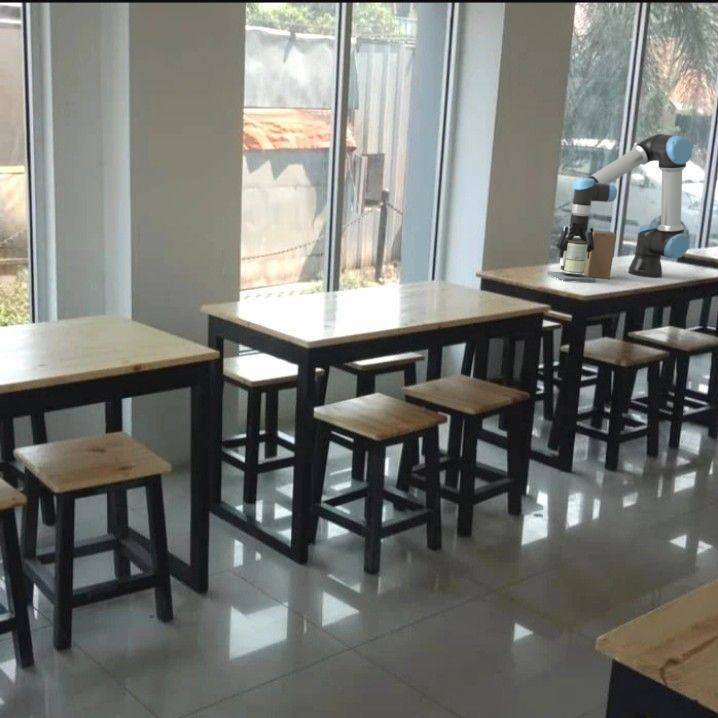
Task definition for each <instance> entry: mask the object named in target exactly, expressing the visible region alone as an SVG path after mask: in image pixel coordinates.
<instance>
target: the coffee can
mask: <svg viewBox="0 0 718 718" xmlns="http://www.w3.org/2000/svg"><path fill="white" fill-rule="evenodd" d="M566 238H567V237H566ZM566 238H565V240H564V241H567V242H568V243H567V247H566V249H565V251H566V257H565V264H564V266H562V265H560V269H559V272H565V273H570V274H583V275H585V274H584V267H585V260H586V254H587V247H588V242H589V241H588V240H587V241H583V240H582V239H581V238H577V237H576V238H575V237H574V238H572V240H571V241H570V240H566Z"/></svg>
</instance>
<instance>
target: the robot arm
mask: <svg viewBox="0 0 718 718" xmlns="http://www.w3.org/2000/svg"><path fill="white" fill-rule="evenodd" d="M692 146H693V145H691V142H690V141H689V139H687V138H686V137H683V136H680V135H673V134H665V133H663V134H662V133H659V134H655V135H651V136H649V137H647V138H645V139H643V140H641V141H640V142H637V144H635V145H634V146H632V148H631V149H630V151H628V152H627V153H625V154H623V155H622V156H619V157H618V158H617V159H615V160H613V161H612V162H610V163H608V165H607V164H606V165H605V166H603V167H602V168H601V169H599V170H597V171H596V172H595V173H592V174H591V175H590V176H588V177H578V178H576V180H575V181H573V184H572V188H571V190H572V193H573V199H572V200H573V201H572V207H571V213H572V214H570V221H569V226H566V225H563V226H562V231H561V234H560V236H559V238H558V241H557V244H556V246H555V248H556V249H558V250H559V253H558V257H559V259H560V260H559V266H561V265H562V266H564V264H565V257H566V251H565V249H566V247H567V243H568V242H567V241H564V240H565V238H566V240H570V241H571V240H572V238H575V237H580V239H582V240H583V241H589V242H588V243H589V244H588V247H587V254H586V260H585V267H586V263H587V259H588V258H589V253H590V252H591V251H592V250H594V241H593V230H594V228H593V227H591V226H590V227H588V224H589V219H590V218H589V215H590V212H591V204H592V202H603V203H612V202H614V201H615V200H616V198H617V196H618V189H617V187H616V186H615V185H614V184H612V183H613V182H614V181H617V180H618V179H620V178H621V177H623V176H624V175H625V174H627V173H629V172H630V171H633V170H634V169H636V168H637V167H639V166H641V165H646V164H648V163H649V162H654V161H658V169H659V170H661V195H660V196H661V202H660V206H661V207H660V210H661V211H660V225H654V224H653V225H652V224H651V225H648V224H643V225H642V224H641V225H640V226H639V229H638V232H637V239H636V244H635V245H636V246H635V253H634V257H633V259H632V261H631V262H630V265H629V267H628V273H629V274H631V273H632V274H631V275H635V274H636V275H635V276H640V275H641V276H640V277H646V276H649V277H650V278H659V277H658V276H661V277H662V275H663V269H662V268H663V267H662V263H661V257H664V258H666V259H673V260H674V259H680V258H682V257H683V256H684V255H685V254H686V253H687V251H688V250H689V247H690V238H689V237H688V236H687V235H686V234H685V226H684V225H683V224H682V194H683V193H682V190H683V189H682V188H683V170H684V169H685V168H687V163H688V162H689V161H690V159H691V158H692V154H693V148H692ZM586 232H587V235H586Z"/></svg>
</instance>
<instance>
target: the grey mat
mask: <svg viewBox="0 0 718 718" xmlns="http://www.w3.org/2000/svg"><path fill="white" fill-rule="evenodd" d="M547 274H548V275H547ZM547 274H546V275H547V276H549V275H551V276H550V277H552V276H553V277H552V278H554V277H556V278H555V279H557V278H558V279H557V280H559V279H561V280H560V281H562V280H563V281H562V282H564V281H579V282H578V283H592V284H593V283H596V278H591V277H588V276H586V275H585V274H570V273H565V272H561V271H547Z"/></svg>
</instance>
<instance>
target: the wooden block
mask: <svg viewBox="0 0 718 718" xmlns="http://www.w3.org/2000/svg"><path fill="white" fill-rule="evenodd" d="M616 239H617V234H616V233H614V232H612V231H609V230H608V231H607V230H598V229H593V241H594V250H592V251H591V252H590V253H589V258H588V259H587V263H586V267H584V274H583V275H586V276H588V277H592V278H593V279H601V280H602V279H603V280H609V279H610V278H611V271H612V265H613V258H614V251H615V245H616V242H617V241H616ZM588 244H589V243H588Z"/></svg>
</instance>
